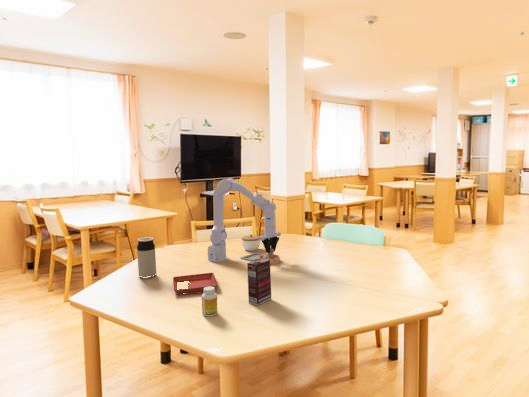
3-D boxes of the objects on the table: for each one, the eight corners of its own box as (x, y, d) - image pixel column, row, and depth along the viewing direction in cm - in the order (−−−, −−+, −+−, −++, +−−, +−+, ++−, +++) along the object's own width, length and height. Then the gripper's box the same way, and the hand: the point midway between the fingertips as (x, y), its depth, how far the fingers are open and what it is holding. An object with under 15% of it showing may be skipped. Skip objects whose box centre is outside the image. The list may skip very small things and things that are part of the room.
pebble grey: (267, 264, 206) (265, 258, 204) (262, 263, 208) (260, 257, 206) (271, 259, 208) (269, 254, 206) (266, 258, 210) (264, 253, 208)
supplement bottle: (199, 314, 144) (198, 288, 143) (211, 309, 148) (210, 284, 147) (208, 318, 140) (207, 291, 139) (220, 313, 144) (219, 287, 143)
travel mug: (151, 279, 185) (149, 240, 183) (135, 278, 187) (133, 240, 184) (159, 274, 193) (157, 237, 191) (144, 273, 194) (141, 236, 192)
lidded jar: (239, 249, 237) (239, 233, 236) (256, 247, 241) (255, 231, 240) (246, 253, 227) (246, 237, 226) (263, 251, 231) (263, 235, 230)
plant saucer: (174, 297, 162) (173, 289, 162) (172, 283, 179) (172, 276, 179) (218, 292, 166) (218, 284, 166) (213, 279, 184) (213, 272, 183)
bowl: (270, 266, 201) (269, 260, 200) (253, 262, 208) (253, 257, 207) (283, 261, 209) (283, 256, 208) (267, 258, 216) (267, 252, 216)
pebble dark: (271, 255, 206) (270, 249, 205) (265, 254, 208) (265, 248, 208) (275, 254, 208) (275, 247, 208) (270, 253, 211) (270, 246, 210)
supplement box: (262, 296, 160) (261, 257, 158) (271, 299, 157) (270, 259, 155) (247, 303, 153) (246, 262, 151) (257, 306, 150) (256, 264, 148)
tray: (253, 262, 209) (252, 260, 209) (240, 259, 215) (240, 257, 215) (268, 257, 218) (268, 255, 218) (255, 254, 224) (255, 252, 224)
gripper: (266, 229, 198) (267, 256, 200) (284, 224, 209) (285, 250, 211) (256, 227, 203) (256, 253, 205) (274, 223, 214) (275, 248, 215)
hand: (270, 251), depth 208 cm, fingers open, 4 cm apart
